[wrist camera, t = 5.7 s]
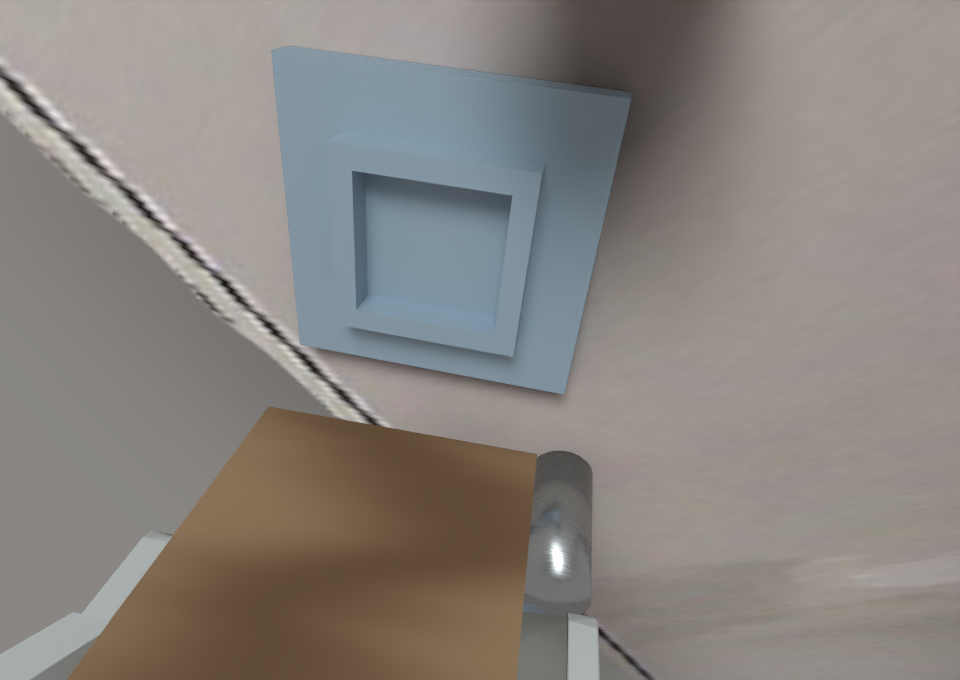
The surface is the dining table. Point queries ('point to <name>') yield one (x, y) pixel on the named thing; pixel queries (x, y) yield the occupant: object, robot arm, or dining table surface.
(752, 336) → the dining table surface
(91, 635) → the robot arm
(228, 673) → the block
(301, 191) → the base
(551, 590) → the peg
